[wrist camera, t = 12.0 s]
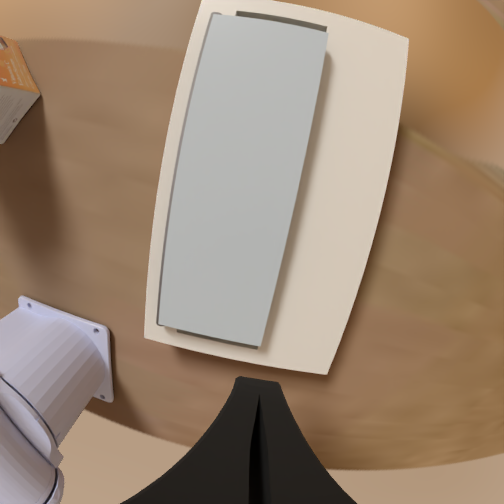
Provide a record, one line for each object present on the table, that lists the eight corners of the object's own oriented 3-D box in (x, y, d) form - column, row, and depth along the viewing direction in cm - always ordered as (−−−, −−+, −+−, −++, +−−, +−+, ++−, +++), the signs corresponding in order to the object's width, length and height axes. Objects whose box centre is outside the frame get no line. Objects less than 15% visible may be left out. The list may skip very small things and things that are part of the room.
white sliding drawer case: (320, 348, 20) (326, 374, 17) (159, 315, 20) (144, 337, 17) (390, 54, 15) (408, 38, 12) (213, 16, 15) (204, -6, 12)
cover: (259, 342, 17) (259, 351, 16) (157, 319, 17) (152, 327, 16) (326, 35, 12) (329, 28, 11) (212, 16, 12) (208, 9, 11)
